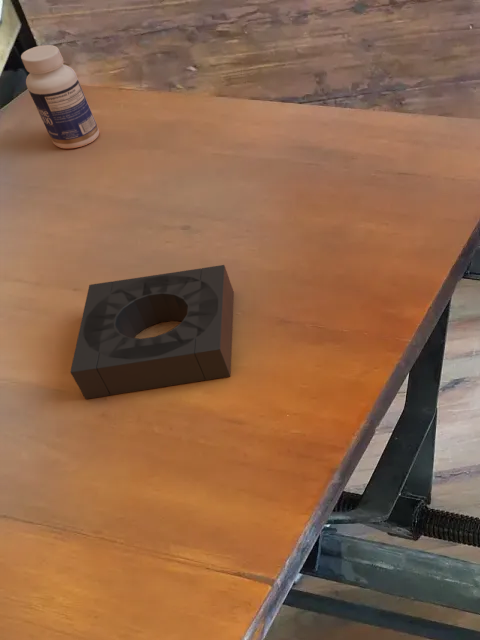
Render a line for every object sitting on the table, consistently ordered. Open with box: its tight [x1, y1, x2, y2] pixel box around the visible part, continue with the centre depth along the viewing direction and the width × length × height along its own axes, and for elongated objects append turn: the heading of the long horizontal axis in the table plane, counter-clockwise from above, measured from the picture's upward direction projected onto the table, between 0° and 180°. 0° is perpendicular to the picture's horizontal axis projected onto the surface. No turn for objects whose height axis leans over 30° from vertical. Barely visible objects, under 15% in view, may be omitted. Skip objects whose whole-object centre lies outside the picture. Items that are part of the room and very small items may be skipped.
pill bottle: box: [20, 44, 100, 149], centre depth 100 cm, size 5×5×10 cm
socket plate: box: [70, 264, 235, 400], centre depth 77 cm, size 12×12×3 cm
